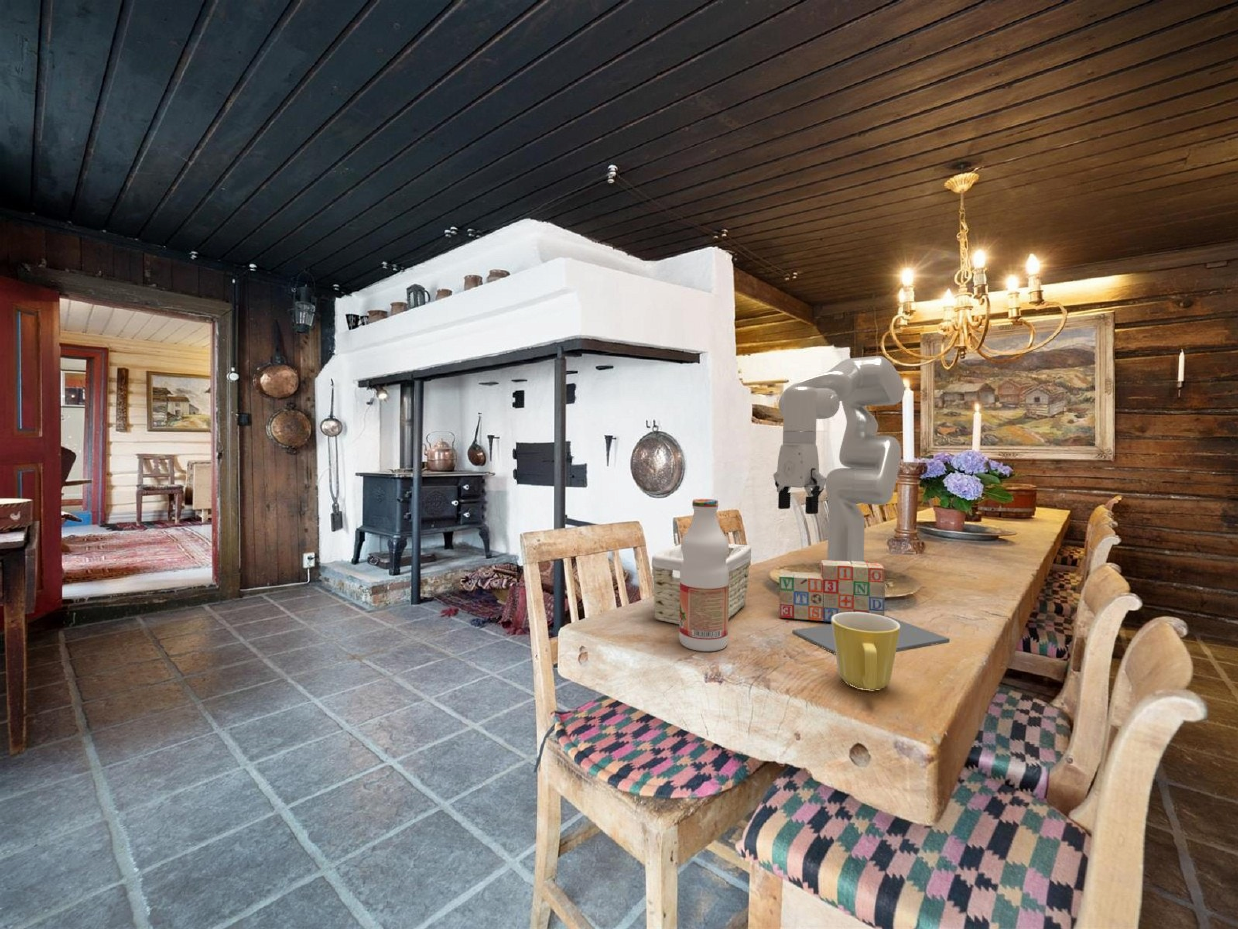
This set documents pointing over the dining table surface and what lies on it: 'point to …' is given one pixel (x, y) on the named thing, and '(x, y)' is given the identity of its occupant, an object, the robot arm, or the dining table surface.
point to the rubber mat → (908, 633)
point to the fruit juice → (704, 581)
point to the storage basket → (668, 580)
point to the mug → (865, 648)
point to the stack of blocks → (832, 591)
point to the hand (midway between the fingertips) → (797, 511)
